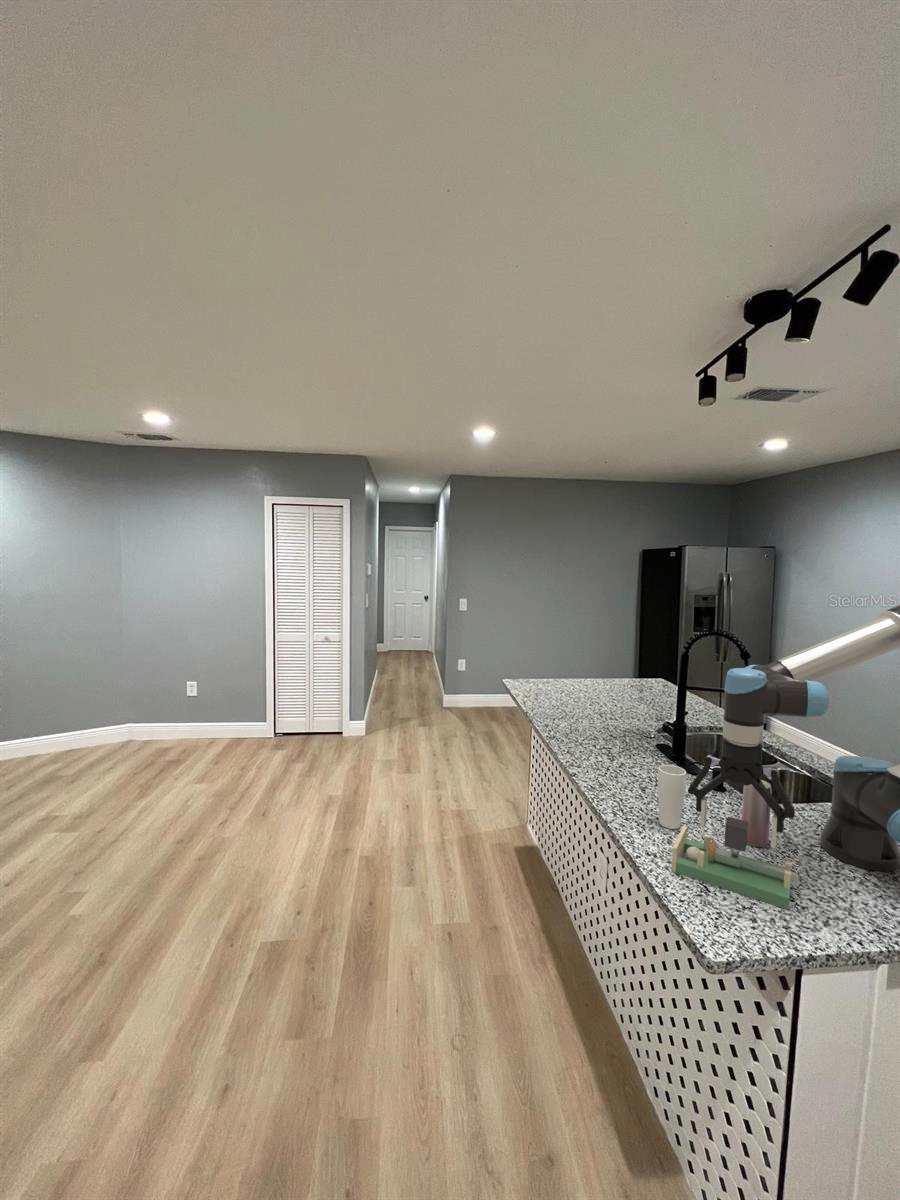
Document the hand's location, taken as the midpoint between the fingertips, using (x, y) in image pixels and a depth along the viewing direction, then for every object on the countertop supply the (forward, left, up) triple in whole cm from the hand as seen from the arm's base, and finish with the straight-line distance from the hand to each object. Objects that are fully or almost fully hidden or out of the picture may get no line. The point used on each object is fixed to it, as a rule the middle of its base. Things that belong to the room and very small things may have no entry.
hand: (737, 835), depth 114 cm
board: (+1, 0, -9) cm, 9 cm away
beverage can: (-2, -19, -10) cm, 22 cm away
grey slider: (-3, 0, -6) cm, 7 cm away
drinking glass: (+17, -15, -10) cm, 25 cm away
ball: (+8, 0, -7) cm, 11 cm away
